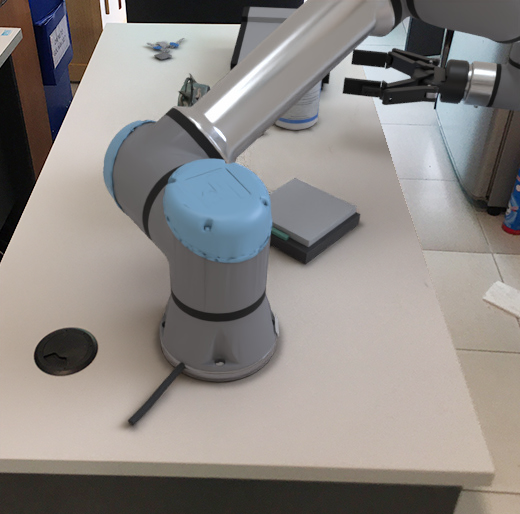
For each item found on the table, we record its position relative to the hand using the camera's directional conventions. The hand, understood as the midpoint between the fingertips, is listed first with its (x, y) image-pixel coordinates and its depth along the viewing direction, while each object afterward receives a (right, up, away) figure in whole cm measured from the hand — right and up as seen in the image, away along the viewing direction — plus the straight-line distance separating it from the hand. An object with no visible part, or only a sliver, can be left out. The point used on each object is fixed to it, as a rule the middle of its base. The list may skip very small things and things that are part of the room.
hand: (347, 70), depth 118 cm
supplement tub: (-9, -7, +10) cm, 15 cm away
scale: (-12, -31, -17) cm, 37 cm away
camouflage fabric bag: (-29, -26, -11) cm, 40 cm away
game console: (-10, +11, +29) cm, 32 cm away
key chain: (-39, +19, +37) cm, 57 cm away
